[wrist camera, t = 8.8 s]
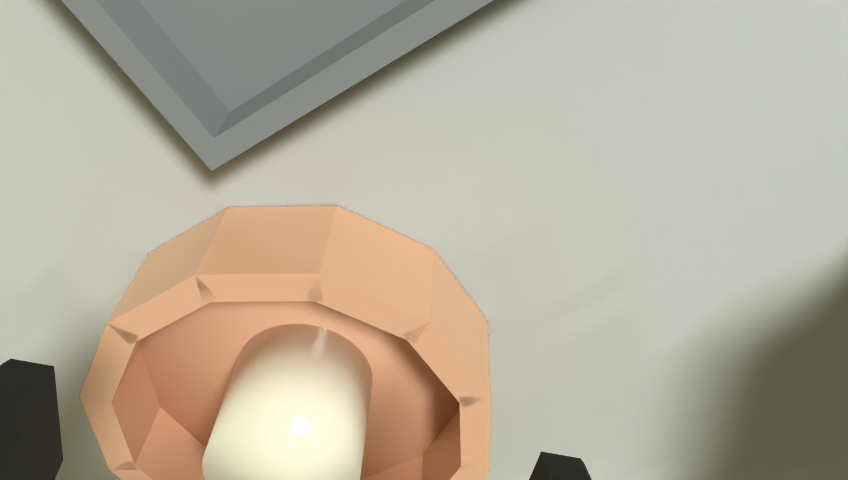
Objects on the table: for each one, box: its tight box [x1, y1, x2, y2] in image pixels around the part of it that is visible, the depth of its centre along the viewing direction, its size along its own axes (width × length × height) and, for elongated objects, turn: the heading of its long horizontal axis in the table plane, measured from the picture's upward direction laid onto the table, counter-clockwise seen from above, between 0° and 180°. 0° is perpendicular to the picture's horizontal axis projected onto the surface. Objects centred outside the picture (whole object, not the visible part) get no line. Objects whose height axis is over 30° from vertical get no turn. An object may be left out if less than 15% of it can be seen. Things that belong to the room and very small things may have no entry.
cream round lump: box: [202, 324, 373, 480], centre depth 21 cm, size 4×4×4 cm
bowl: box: [79, 206, 491, 480], centre depth 22 cm, size 11×11×3 cm
